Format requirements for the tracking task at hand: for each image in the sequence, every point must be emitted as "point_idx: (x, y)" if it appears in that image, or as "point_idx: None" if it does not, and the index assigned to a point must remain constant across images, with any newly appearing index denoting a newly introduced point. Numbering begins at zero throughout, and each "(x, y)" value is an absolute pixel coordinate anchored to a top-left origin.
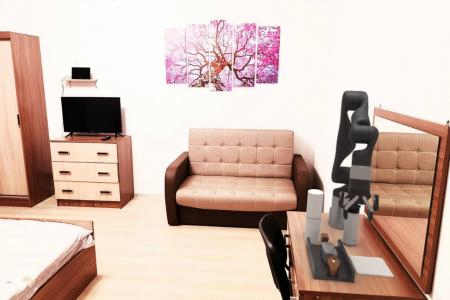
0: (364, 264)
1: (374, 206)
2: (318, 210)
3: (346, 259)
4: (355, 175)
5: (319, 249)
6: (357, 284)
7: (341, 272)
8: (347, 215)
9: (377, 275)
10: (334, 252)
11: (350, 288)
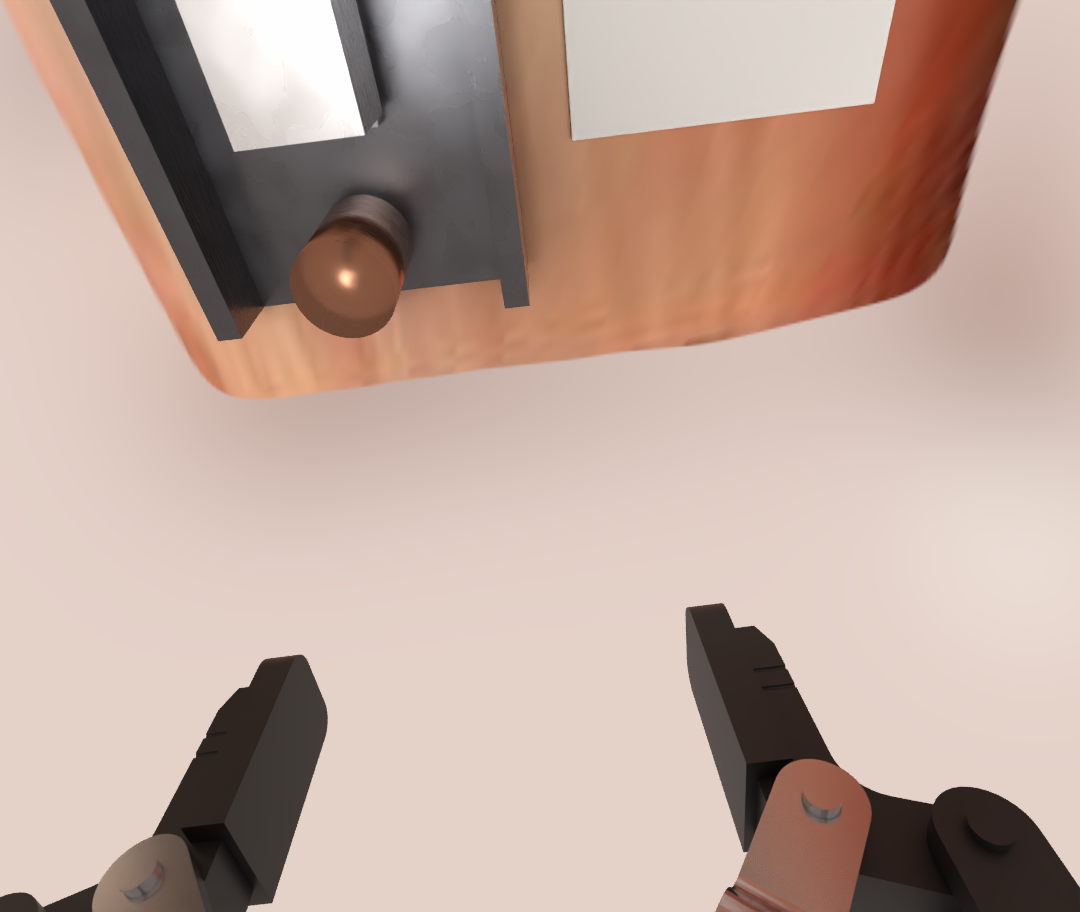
0: None
1: (989, 908)
2: None
3: (472, 93)
4: None
5: None
6: (549, 279)
7: (436, 209)
8: (303, 789)
9: (736, 118)
10: (331, 106)
11: (498, 334)
